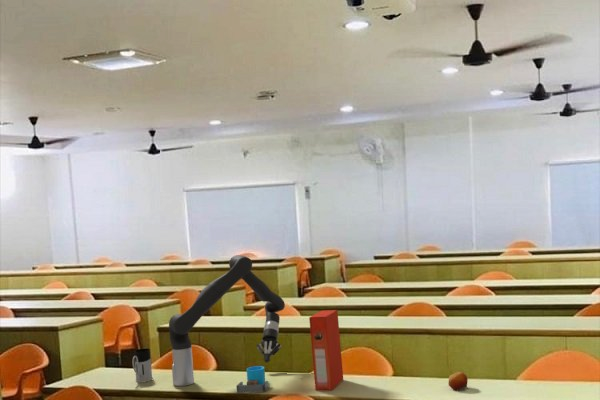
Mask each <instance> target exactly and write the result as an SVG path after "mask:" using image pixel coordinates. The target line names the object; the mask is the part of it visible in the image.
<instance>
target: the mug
mask: <svg viewBox="0 0 600 400" xmlns="http://www.w3.org/2000/svg"><path fill="white" fill-rule="evenodd" d="M246 380H247V382H248V381H249V380H258V385H263V384H264V383H265V382H266V372H265V366H262V365H256V366H250V367H247V368H246ZM247 382H246V383H247Z"/></svg>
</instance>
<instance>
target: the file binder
mask: <svg viewBox="0 0 600 400" xmlns="http://www.w3.org/2000/svg"><path fill="white" fill-rule="evenodd" d="M338 312H339V311H338V309H332V310H329V309H327V310H320V311H318V312H317V313H315V314H312V315H311V316H309V318H308V319H309V329H310V341H311V353H312V363H313V364H312V366H313V376H314V377H313V379H314V387H315V391H333V390H334V389H335V388H336V387H337V386H339V384H340V383H341V382H342V381H344V370H343V361H342V360H343V359H342V349H341V347H342V346H341V337H340V326H339V316H338V315H339V313H338Z"/></svg>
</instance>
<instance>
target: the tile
mask: <svg viewBox="0 0 600 400" xmlns="http://www.w3.org/2000/svg"><path fill="white" fill-rule="evenodd" d="M246 385H258V380H249V381H248V382H246Z"/></svg>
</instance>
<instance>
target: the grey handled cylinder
mask: <svg viewBox="0 0 600 400" xmlns="http://www.w3.org/2000/svg"><path fill="white" fill-rule="evenodd" d="M131 363H132V369H133V371H134V373H135V381H136V382H135V383H146V381H148V382H151V381H153V380H154V377H153V368H152V358H151V349H150V348H140V349H139V348H138V349H136V350H134V356H133V357H132V362H131ZM152 379H153V380H152ZM150 380H151V381H150Z"/></svg>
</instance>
